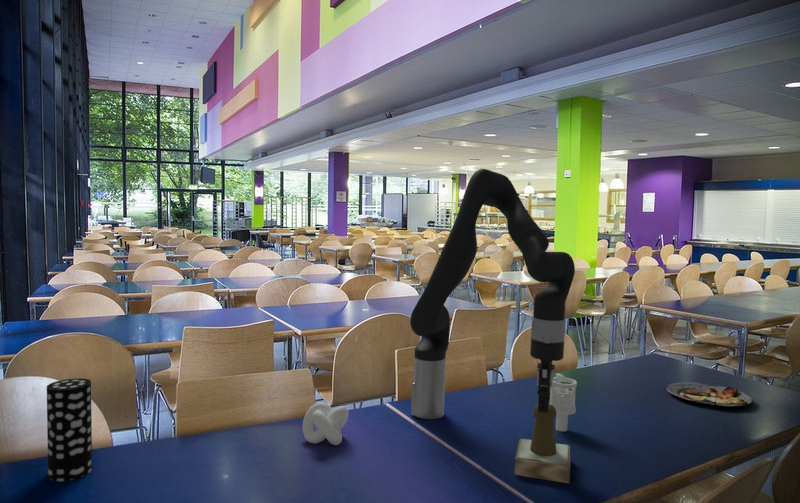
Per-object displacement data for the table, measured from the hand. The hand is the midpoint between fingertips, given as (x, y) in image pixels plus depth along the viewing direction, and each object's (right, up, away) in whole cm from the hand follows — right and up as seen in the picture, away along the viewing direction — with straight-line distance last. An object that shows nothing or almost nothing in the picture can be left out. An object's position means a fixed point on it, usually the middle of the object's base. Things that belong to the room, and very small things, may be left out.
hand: (543, 405), depth 124 cm
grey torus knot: (-52, -13, +14) cm, 56 cm away
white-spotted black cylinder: (-107, -13, -6) cm, 108 cm away
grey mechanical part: (+12, -14, +25) cm, 31 cm away
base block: (0, -15, +1) cm, 15 cm away
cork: (0, -11, +1) cm, 11 cm away
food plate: (+70, -14, +54) cm, 90 cm away
